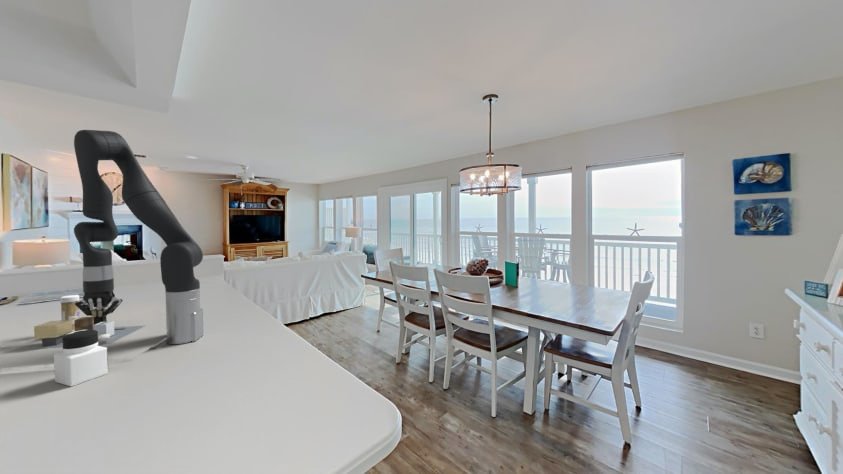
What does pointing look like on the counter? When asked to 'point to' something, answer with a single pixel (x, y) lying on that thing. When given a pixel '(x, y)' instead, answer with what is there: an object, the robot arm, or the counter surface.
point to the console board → (112, 338)
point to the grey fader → (104, 328)
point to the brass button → (53, 329)
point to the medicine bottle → (80, 358)
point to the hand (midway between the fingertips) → (100, 326)
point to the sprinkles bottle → (70, 308)
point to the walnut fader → (84, 323)
